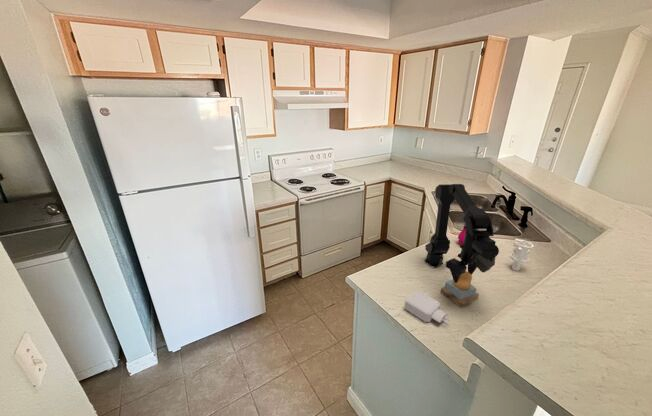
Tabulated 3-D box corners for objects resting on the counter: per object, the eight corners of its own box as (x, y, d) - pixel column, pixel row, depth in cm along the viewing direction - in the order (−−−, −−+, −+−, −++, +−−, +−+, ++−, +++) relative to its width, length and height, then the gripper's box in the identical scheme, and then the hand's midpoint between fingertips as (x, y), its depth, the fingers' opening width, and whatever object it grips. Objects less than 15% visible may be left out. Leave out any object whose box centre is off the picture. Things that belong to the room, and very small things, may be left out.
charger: (441, 333, 91) (403, 309, 101) (453, 320, 97) (416, 298, 107) (444, 323, 89) (405, 299, 99) (456, 310, 95) (418, 289, 105)
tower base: (439, 294, 110) (441, 288, 109) (454, 286, 115) (456, 280, 114) (461, 309, 102) (463, 303, 101) (477, 300, 107) (478, 294, 106)
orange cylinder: (449, 283, 107) (452, 273, 105) (458, 278, 110) (461, 268, 108) (463, 291, 103) (466, 281, 101) (472, 286, 106) (475, 276, 104)
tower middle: (444, 287, 109) (445, 281, 108) (458, 282, 112) (459, 276, 111) (460, 300, 103) (462, 294, 102) (474, 294, 106) (476, 288, 105)
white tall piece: (507, 262, 131) (515, 235, 125) (524, 267, 127) (534, 240, 121) (506, 269, 126) (515, 241, 120) (524, 275, 122) (534, 246, 116)
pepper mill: (458, 240, 151) (465, 208, 143) (472, 244, 147) (480, 211, 140) (455, 245, 146) (462, 212, 138) (469, 249, 142) (478, 215, 134)
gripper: (477, 262, 88) (467, 299, 94) (507, 247, 97) (496, 282, 103) (448, 247, 97) (440, 281, 103) (478, 235, 106) (469, 267, 112)
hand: (462, 278), depth 105 cm, fingers open, 9 cm apart
